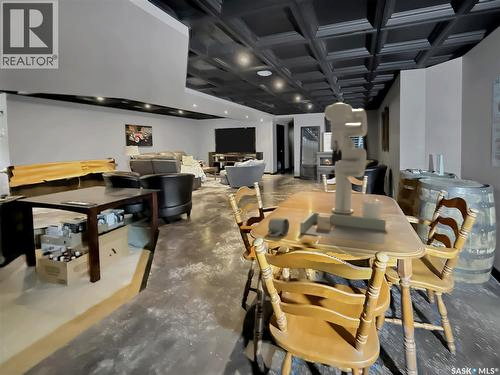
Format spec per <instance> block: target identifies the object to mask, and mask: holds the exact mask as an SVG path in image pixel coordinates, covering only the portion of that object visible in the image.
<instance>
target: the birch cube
mask: <svg viewBox="0 0 500 375" xmlns="http://www.w3.org/2000/svg"><path fill="white" fill-rule="evenodd" d="M319 213H320V214H319V215H318V216H317V228H324V229H330V228H331V226H332V214H333V213H326V214H322V213H323V212H319Z"/></svg>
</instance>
